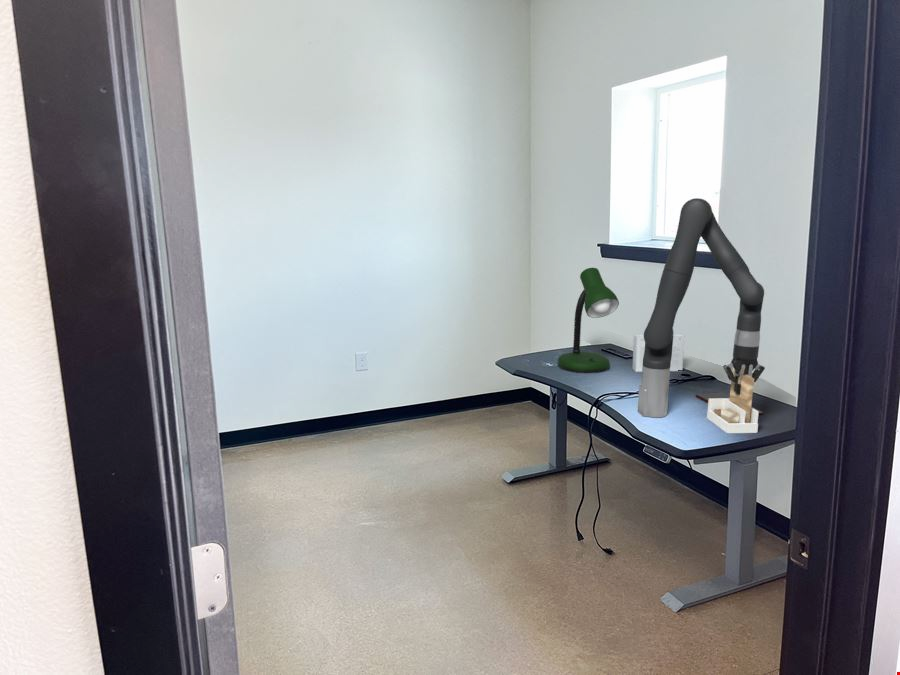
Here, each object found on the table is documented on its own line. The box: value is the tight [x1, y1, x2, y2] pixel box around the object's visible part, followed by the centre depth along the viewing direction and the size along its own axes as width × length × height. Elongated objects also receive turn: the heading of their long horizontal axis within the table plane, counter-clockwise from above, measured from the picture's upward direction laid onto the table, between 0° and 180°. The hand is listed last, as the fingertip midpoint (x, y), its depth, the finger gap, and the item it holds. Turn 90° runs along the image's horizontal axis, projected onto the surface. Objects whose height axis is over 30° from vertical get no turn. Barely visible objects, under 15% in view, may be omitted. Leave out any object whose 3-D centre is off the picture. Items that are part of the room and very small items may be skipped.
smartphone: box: [695, 391, 765, 416], centre depth 240 cm, size 12×2×25 cm
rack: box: [706, 398, 759, 434], centre depth 218 cm, size 10×15×7 cm, turn 3°
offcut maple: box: [721, 408, 739, 422], centre depth 216 cm, size 3×5×3 cm
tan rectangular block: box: [729, 369, 755, 423], centre depth 217 cm, size 2×11×16 cm, turn 3°
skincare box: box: [632, 333, 685, 373], centre depth 287 cm, size 21×6×16 cm, turn 92°
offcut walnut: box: [714, 409, 721, 417], centre depth 222 cm, size 3×3×4 cm
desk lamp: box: [557, 267, 620, 374], centre depth 286 cm, size 31×23×45 cm
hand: (741, 393), depth 217 cm, fingers closed on tan rectangular block, 2 cm apart
